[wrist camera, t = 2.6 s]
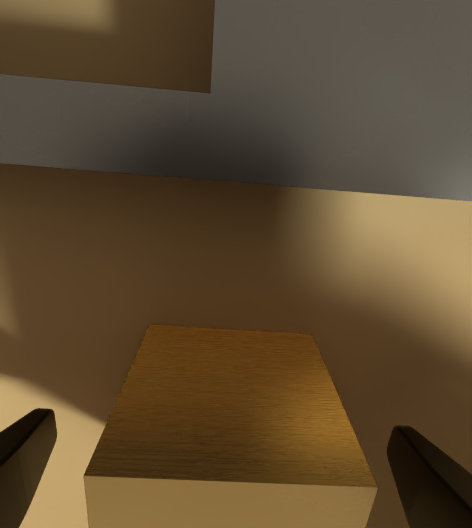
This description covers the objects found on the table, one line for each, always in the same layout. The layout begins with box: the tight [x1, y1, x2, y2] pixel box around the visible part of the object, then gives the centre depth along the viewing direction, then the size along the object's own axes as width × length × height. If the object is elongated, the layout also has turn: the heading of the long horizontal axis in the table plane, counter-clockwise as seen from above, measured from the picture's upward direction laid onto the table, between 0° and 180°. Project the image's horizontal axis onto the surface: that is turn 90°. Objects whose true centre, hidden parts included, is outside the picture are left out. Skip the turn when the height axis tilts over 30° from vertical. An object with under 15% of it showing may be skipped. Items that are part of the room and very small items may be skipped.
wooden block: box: [84, 324, 378, 528], centre depth 8 cm, size 4×4×5 cm
